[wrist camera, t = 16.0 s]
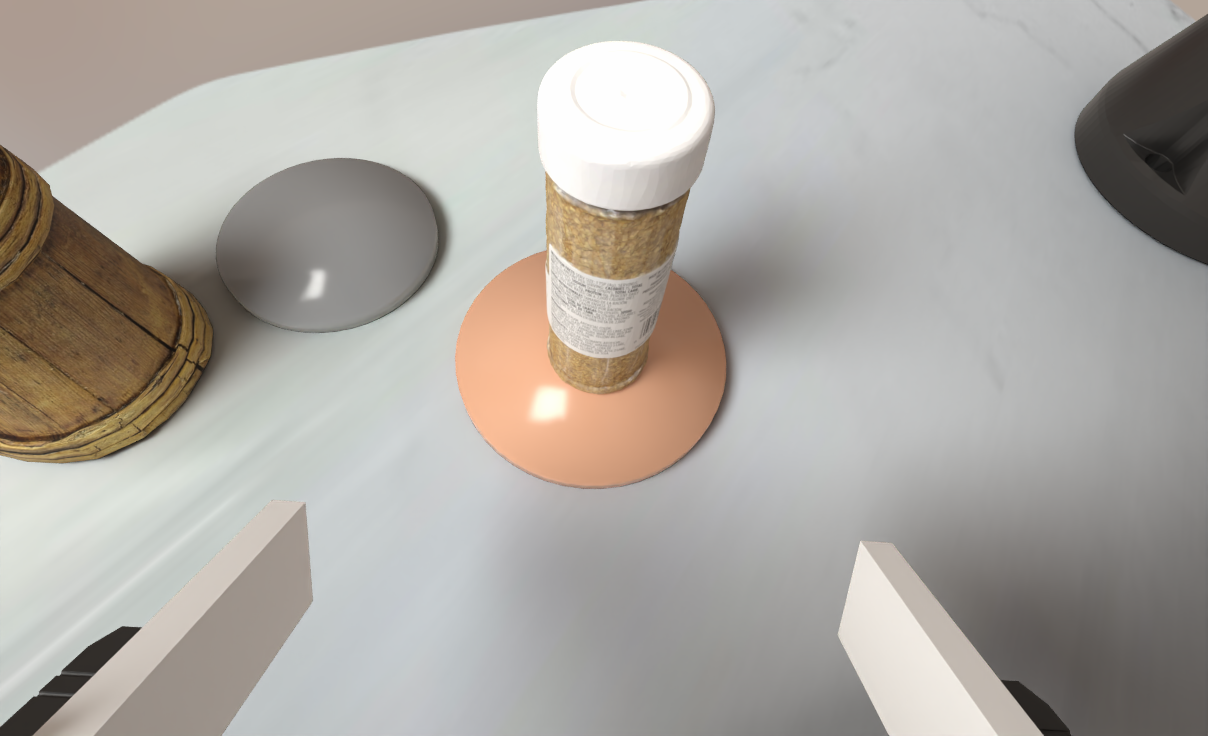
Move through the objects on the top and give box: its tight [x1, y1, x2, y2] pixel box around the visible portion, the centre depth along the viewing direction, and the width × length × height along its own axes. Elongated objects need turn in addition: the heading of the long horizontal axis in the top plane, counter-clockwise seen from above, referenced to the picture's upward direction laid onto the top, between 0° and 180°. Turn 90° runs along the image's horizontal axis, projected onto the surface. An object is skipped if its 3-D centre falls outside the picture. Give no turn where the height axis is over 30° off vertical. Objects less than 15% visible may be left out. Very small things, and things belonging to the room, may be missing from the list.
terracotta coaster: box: [455, 250, 726, 489], centre depth 27 cm, size 12×12×1 cm
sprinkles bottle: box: [537, 41, 715, 395], centre depth 21 cm, size 5×5×14 cm
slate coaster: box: [216, 158, 439, 333], centre depth 29 cm, size 10×10×1 cm
